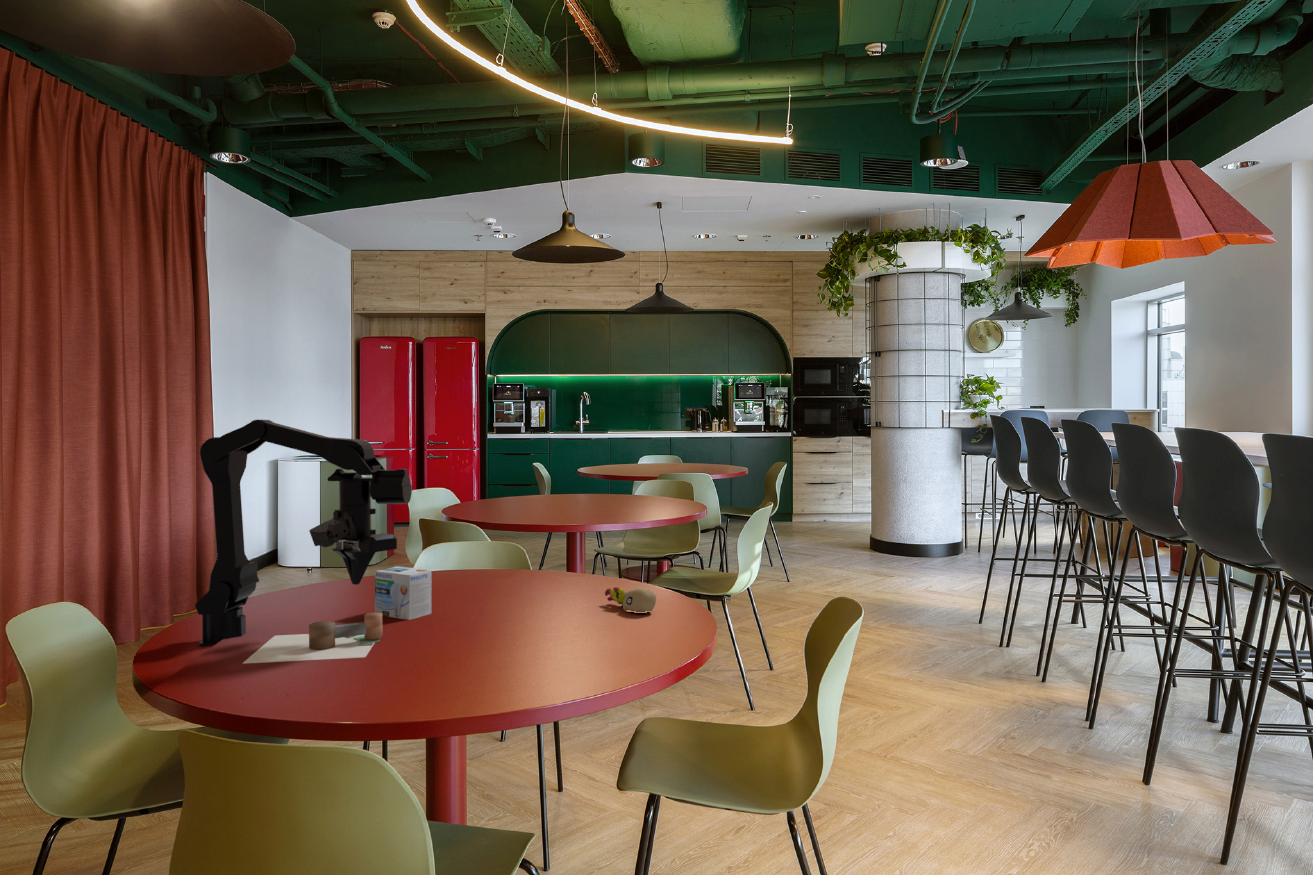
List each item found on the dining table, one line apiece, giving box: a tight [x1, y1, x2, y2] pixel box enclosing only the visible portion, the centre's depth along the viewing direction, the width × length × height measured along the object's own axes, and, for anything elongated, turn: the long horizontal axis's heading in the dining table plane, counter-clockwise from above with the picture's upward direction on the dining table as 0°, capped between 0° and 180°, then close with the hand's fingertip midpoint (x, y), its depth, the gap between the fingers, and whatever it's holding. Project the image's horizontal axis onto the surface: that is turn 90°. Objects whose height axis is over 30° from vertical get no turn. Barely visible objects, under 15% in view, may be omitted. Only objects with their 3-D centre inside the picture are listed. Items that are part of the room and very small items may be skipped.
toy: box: [604, 586, 657, 612], centre depth 176 cm, size 6×7×15 cm
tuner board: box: [242, 633, 381, 664], centre depth 142 cm, size 21×18×1 cm
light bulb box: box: [374, 566, 433, 621], centre depth 167 cm, size 11×7×11 cm, turn 62°
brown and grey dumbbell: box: [308, 612, 383, 649], centre depth 143 cm, size 13×4×5 cm, turn 120°
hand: (355, 584), depth 149 cm, fingers closed
